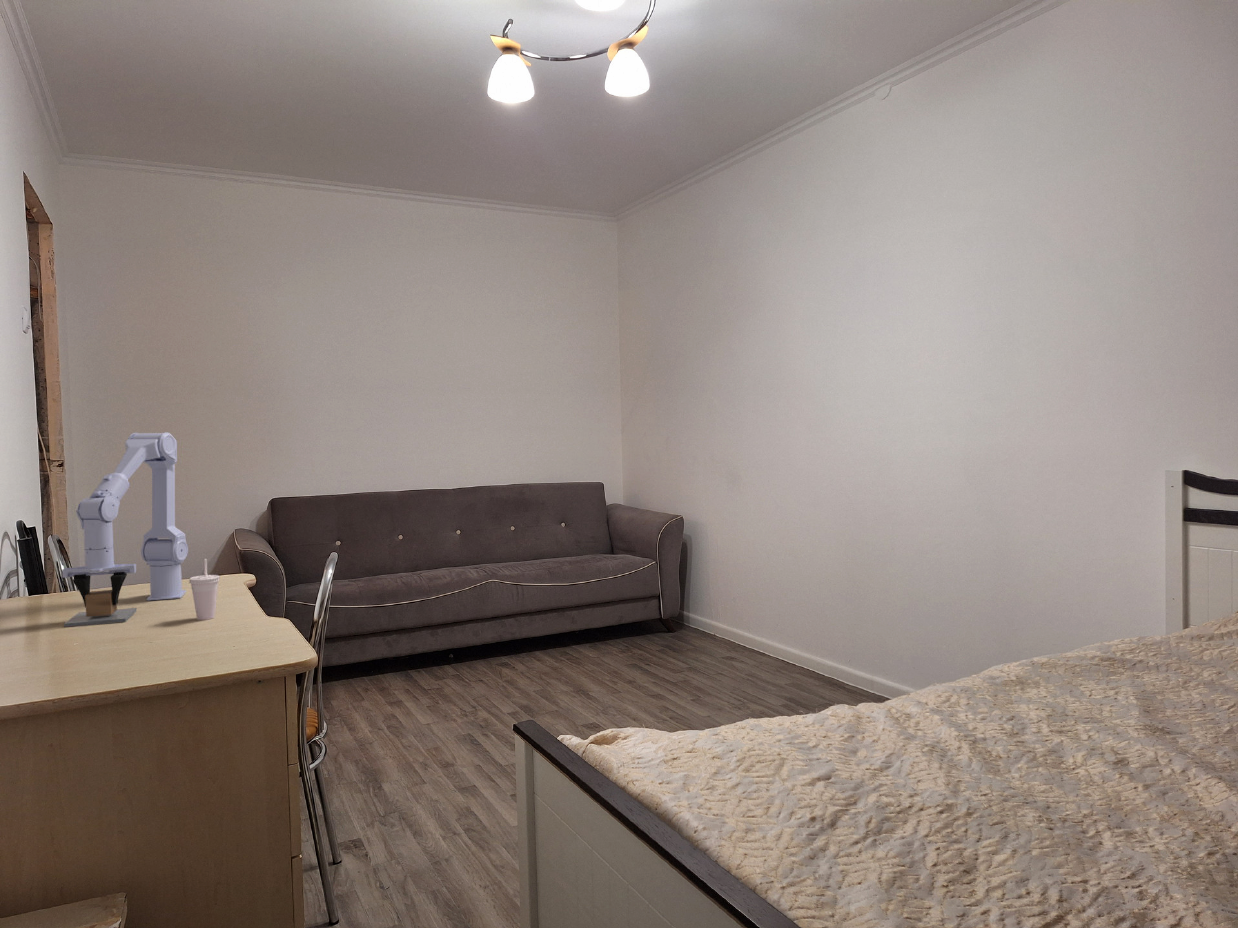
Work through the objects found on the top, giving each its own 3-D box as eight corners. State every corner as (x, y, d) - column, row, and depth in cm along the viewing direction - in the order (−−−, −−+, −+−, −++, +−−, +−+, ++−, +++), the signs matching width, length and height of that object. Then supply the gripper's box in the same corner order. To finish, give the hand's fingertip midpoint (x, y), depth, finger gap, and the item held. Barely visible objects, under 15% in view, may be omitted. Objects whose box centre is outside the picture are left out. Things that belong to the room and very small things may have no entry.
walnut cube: (92, 612, 189) (91, 591, 189) (116, 609, 191) (115, 589, 190) (86, 616, 184) (85, 595, 184) (111, 614, 186) (110, 593, 186)
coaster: (79, 615, 191) (78, 612, 191) (136, 611, 195) (136, 607, 195) (64, 627, 180) (64, 623, 180) (125, 621, 184) (125, 618, 184)
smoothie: (226, 614, 190) (224, 556, 190) (210, 621, 184) (208, 561, 183) (201, 614, 191) (199, 556, 190) (184, 620, 184) (182, 561, 184)
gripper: (57, 552, 181) (59, 611, 181) (130, 548, 186) (133, 605, 186) (66, 548, 187) (68, 605, 188) (137, 544, 192) (139, 600, 193)
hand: (101, 605), depth 187 cm, fingers closed on walnut cube, 5 cm apart
